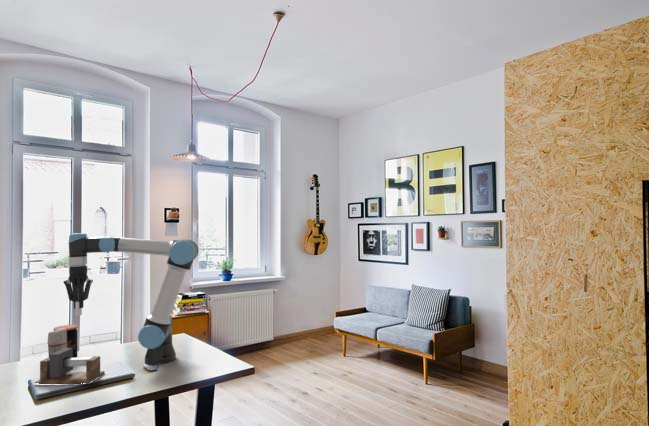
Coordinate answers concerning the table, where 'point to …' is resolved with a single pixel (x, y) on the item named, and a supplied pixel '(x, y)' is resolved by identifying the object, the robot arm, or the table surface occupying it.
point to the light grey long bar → (74, 361)
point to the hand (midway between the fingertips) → (78, 315)
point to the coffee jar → (70, 337)
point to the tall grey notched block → (60, 362)
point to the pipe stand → (71, 373)
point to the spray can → (57, 340)
